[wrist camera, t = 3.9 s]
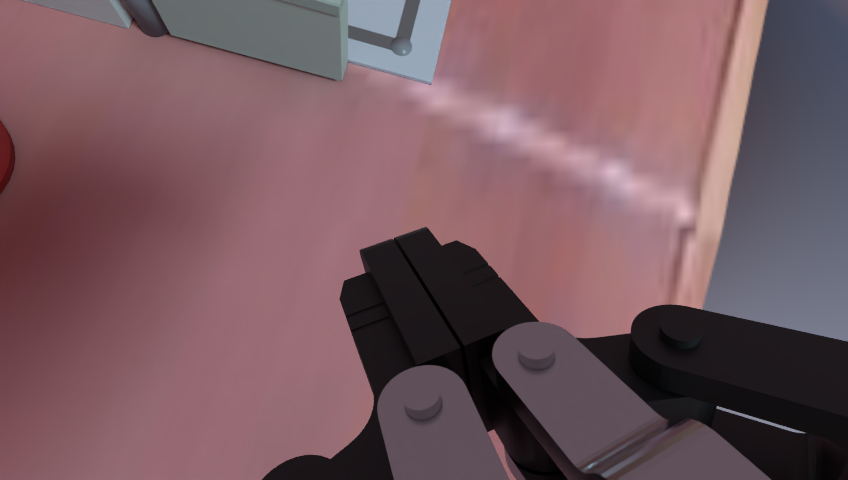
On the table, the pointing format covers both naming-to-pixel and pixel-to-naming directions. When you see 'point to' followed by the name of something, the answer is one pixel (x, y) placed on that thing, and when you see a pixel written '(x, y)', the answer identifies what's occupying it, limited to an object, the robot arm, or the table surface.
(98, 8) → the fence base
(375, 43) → the card
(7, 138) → the canned food
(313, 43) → the swing panel
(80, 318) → the table surface
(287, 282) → the table surface
